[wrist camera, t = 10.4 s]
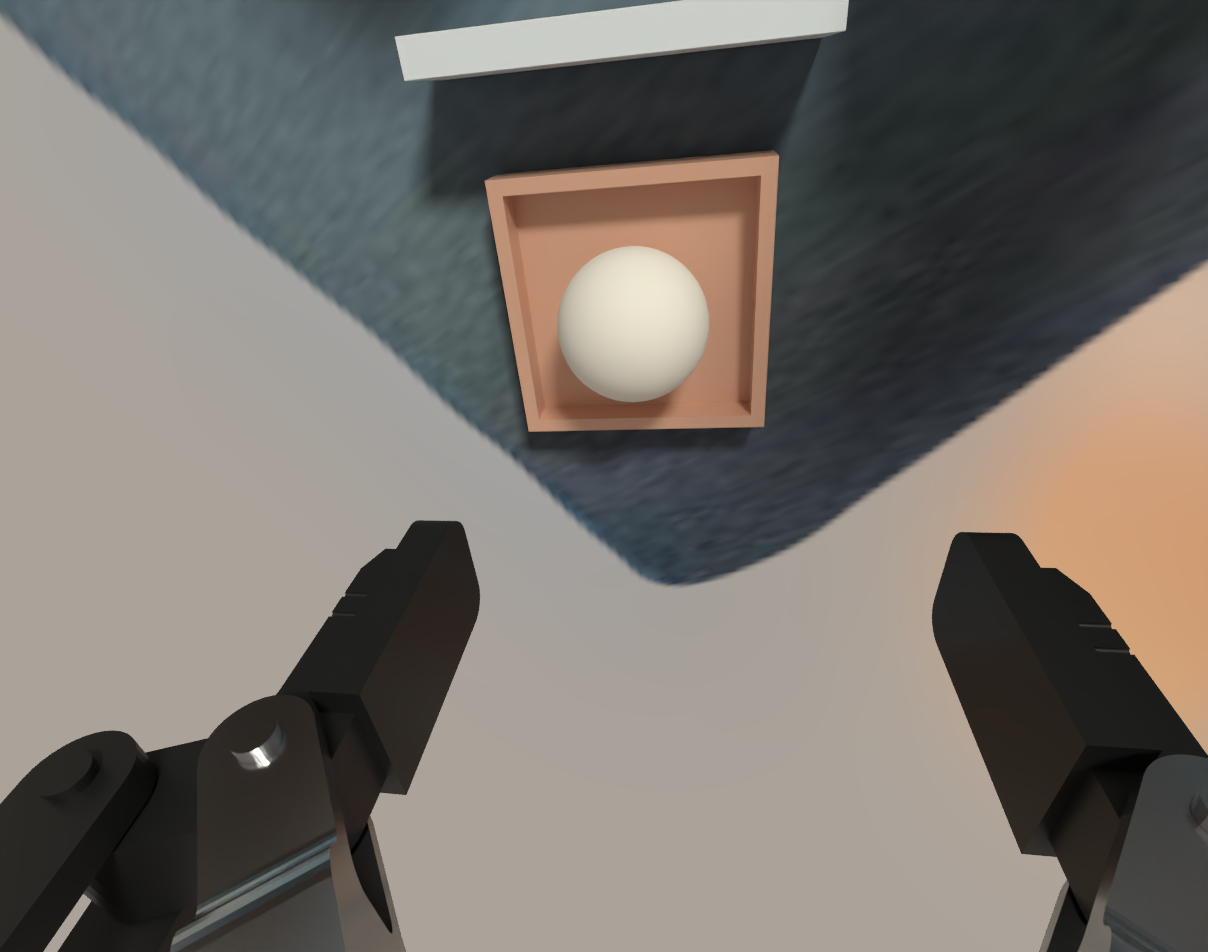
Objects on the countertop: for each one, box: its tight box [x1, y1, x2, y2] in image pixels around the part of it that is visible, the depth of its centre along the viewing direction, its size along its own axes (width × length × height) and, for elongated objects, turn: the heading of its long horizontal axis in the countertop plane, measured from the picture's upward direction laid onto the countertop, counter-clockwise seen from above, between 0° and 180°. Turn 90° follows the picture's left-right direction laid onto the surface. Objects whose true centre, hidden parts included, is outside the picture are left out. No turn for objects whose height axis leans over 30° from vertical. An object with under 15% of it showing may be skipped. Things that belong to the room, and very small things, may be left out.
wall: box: [395, 0, 849, 81], centre depth 21 cm, size 1×14×4 cm, turn 95°
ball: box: [557, 246, 709, 402], centre depth 24 cm, size 6×6×6 cm
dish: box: [485, 150, 779, 432], centre depth 27 cm, size 11×11×2 cm
